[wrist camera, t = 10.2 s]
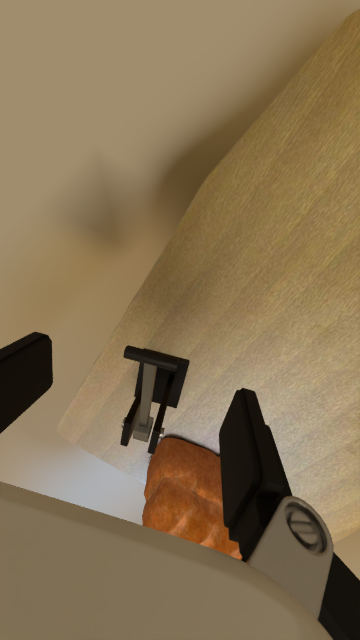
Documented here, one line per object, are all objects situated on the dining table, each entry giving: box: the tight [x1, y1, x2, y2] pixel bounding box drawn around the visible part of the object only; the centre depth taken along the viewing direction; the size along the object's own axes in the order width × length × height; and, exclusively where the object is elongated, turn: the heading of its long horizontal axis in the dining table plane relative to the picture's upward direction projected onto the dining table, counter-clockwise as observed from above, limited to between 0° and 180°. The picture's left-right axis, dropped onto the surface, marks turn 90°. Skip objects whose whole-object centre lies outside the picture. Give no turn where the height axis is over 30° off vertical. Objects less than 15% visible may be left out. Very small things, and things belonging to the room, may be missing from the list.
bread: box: [142, 437, 242, 560], centre depth 40 cm, size 14×26×16 cm, turn 66°
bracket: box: [120, 349, 189, 454], centre depth 34 cm, size 11×9×14 cm
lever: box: [124, 345, 179, 442], centre depth 24 cm, size 18×5×2 cm, turn 167°
